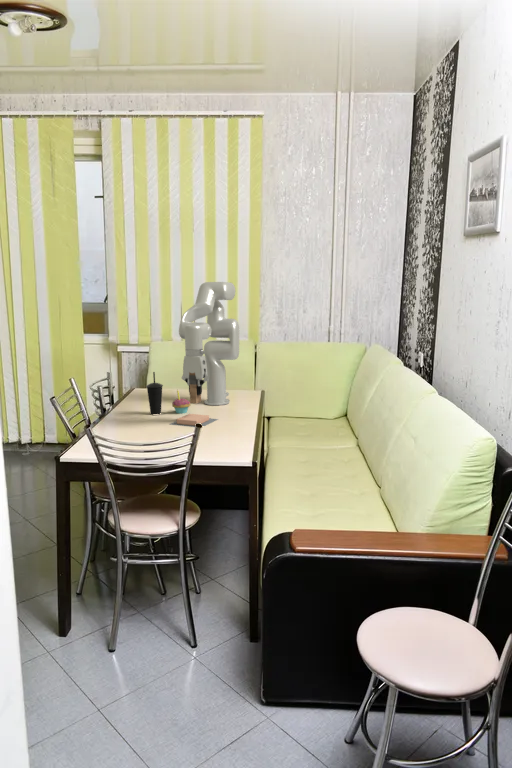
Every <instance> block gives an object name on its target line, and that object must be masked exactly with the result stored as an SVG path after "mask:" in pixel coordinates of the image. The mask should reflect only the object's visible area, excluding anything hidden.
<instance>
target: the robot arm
mask: <svg viewBox="0 0 512 768" xmlns="http://www.w3.org/2000/svg"><path fill="white" fill-rule="evenodd" d="M235 297H236V287H235V285H234V283H233V282H229V281H205V282H203V283H202V284H201V285H200V286H199V288H198V292H197V296H196V300H195V304H194V305H192V306H191V307H190V308H188V309H187V310H186V311H185V312H184V313H183V314H182V315H181V319H180V323H179V326H178V335H179V337H180V338H181V339H182V340H184V346H185V348H184V349H185V355H184V357H183V363H182V364H183V366H182V373H183V374H182V376H181V379H182V380H183V381H185V383H186V384H187V386H188V392H189V394H190V384H189V372H190V373H195V375H196V379H197V385H198V386H197V395H200V394H201V395H202V393H203V385H204V383H206V398H207V399H205V400H204V405H208V406H223V405H228V404H229V403H230V399H229V398H227V397H228V396H229V395H230V393H229V392H227V384H226V383H227V381H226V379H227V378H226V367H225V364H223V362H222V361H232V360H233V361H235V360H238V358H239V355H240V324H239V321H238V320H237V319H235V318H225V307H224V306H223V304H222V303H221V302H220V301H232V300H234V298H235ZM205 317H206V321H207V322H195V321H197V320H199V319H202V318H205ZM209 338H215V339H216V338H217V339H220V338H221V339H223V338H224V339H229V340H209V341H206V342H205V343H204V344H203V340H207V339H209Z"/></svg>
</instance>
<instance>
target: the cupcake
mask: <svg viewBox="0 0 512 768" xmlns="http://www.w3.org/2000/svg"><path fill="white" fill-rule="evenodd" d="M179 391H180V390H178V389H177V390H176V393H177V398H176V399H175V400H173V401H172V404H171V406H172V407H173V409H174V410H175V413H176V414H188V409H189V408H190V407H191V403H190V400H189V399H186V398H180V397H181V396H180V392H179Z"/></svg>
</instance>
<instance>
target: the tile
mask: <svg viewBox="0 0 512 768" xmlns="http://www.w3.org/2000/svg"><path fill="white" fill-rule="evenodd" d="M209 418H210V415H206V414H197V413H187V414H185V415H183V416H181V417H179V418H176V421H177V424H183V425H193V426H195V424H197V423H201V424H202V423H204V422H206V421H208V420H209Z"/></svg>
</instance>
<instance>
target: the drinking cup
mask: <svg viewBox="0 0 512 768" xmlns="http://www.w3.org/2000/svg"><path fill="white" fill-rule="evenodd" d="M152 374H153V377H152V378H153V382H150V383H148V384H147V385H146V386H145V387H146V390H147V391H146V392H147V397H148V403H149V411H150V412H149V413H150V415H151V414H159V415H161V414H162V398H163V386H164V385H163V384H162V383H159V382H156V373H155V371H153V372H152ZM160 413H161V414H160Z"/></svg>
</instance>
